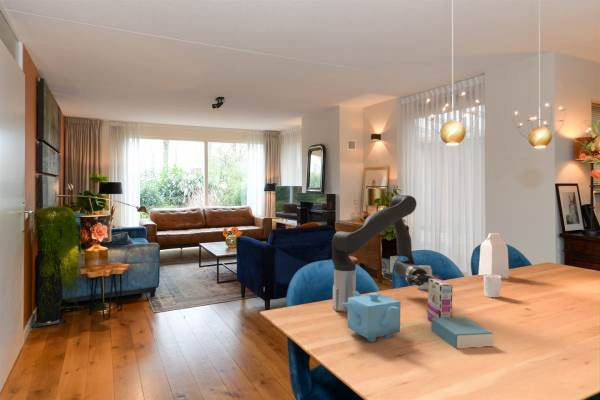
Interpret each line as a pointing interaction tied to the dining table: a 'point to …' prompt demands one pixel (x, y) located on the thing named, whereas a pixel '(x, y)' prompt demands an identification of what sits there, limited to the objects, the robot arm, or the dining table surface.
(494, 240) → the milk
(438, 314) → the candy bar box
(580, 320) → the dining table surface
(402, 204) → the robot arm
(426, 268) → the can
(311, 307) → the dining table surface
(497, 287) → the white cup
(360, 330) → the teakettle
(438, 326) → the teal rectangular box
